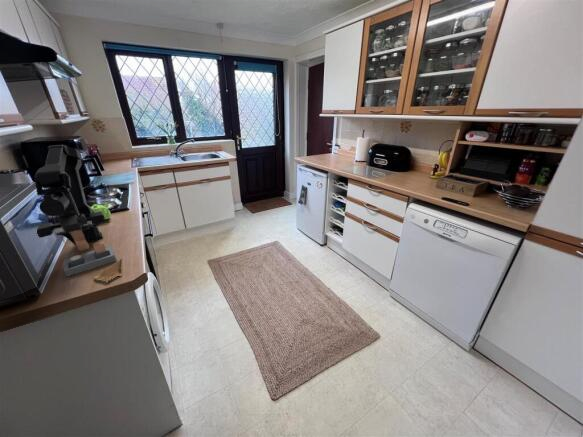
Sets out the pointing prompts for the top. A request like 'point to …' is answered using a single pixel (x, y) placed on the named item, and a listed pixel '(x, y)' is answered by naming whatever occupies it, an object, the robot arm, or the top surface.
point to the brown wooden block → (80, 239)
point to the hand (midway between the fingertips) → (82, 243)
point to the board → (89, 259)
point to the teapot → (102, 210)
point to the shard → (110, 271)
